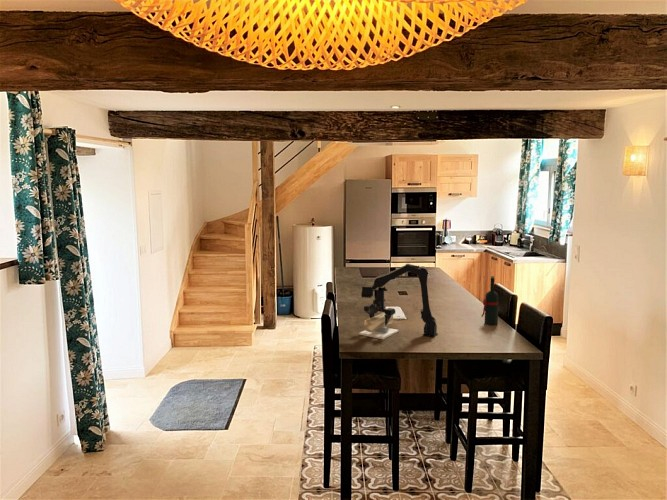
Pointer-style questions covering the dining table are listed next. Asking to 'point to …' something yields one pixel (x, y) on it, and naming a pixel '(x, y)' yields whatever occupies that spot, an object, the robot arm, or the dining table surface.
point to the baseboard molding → (397, 313)
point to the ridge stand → (380, 333)
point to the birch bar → (376, 322)
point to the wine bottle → (491, 305)
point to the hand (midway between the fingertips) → (379, 324)
